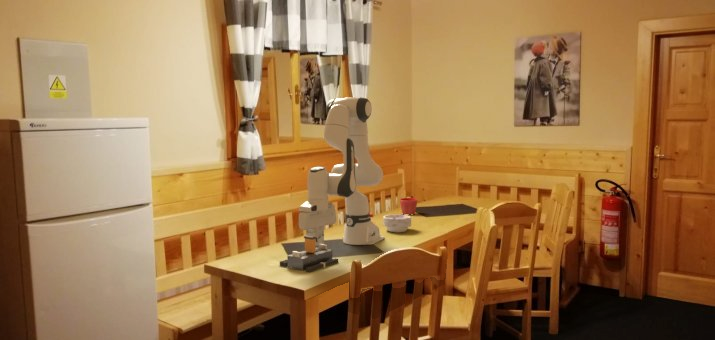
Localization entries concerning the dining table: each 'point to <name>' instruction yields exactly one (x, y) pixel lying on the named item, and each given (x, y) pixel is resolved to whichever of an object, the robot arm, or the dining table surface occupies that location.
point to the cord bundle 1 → (284, 263)
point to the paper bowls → (397, 222)
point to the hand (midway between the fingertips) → (318, 237)
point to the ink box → (318, 240)
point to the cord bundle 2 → (321, 265)
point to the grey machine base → (309, 258)
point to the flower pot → (408, 205)
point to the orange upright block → (310, 243)
